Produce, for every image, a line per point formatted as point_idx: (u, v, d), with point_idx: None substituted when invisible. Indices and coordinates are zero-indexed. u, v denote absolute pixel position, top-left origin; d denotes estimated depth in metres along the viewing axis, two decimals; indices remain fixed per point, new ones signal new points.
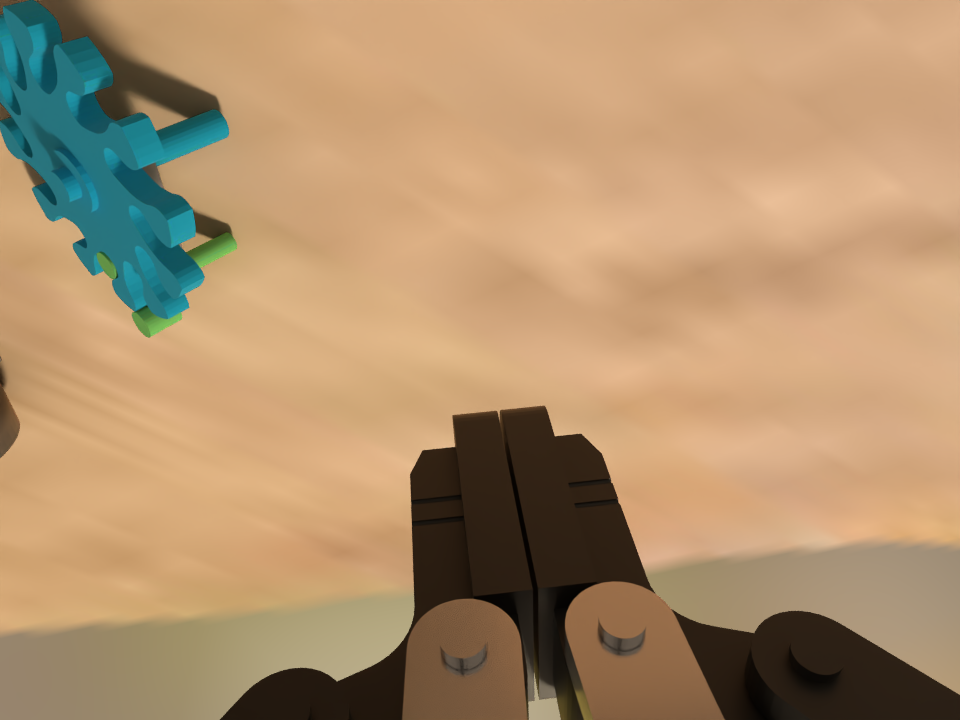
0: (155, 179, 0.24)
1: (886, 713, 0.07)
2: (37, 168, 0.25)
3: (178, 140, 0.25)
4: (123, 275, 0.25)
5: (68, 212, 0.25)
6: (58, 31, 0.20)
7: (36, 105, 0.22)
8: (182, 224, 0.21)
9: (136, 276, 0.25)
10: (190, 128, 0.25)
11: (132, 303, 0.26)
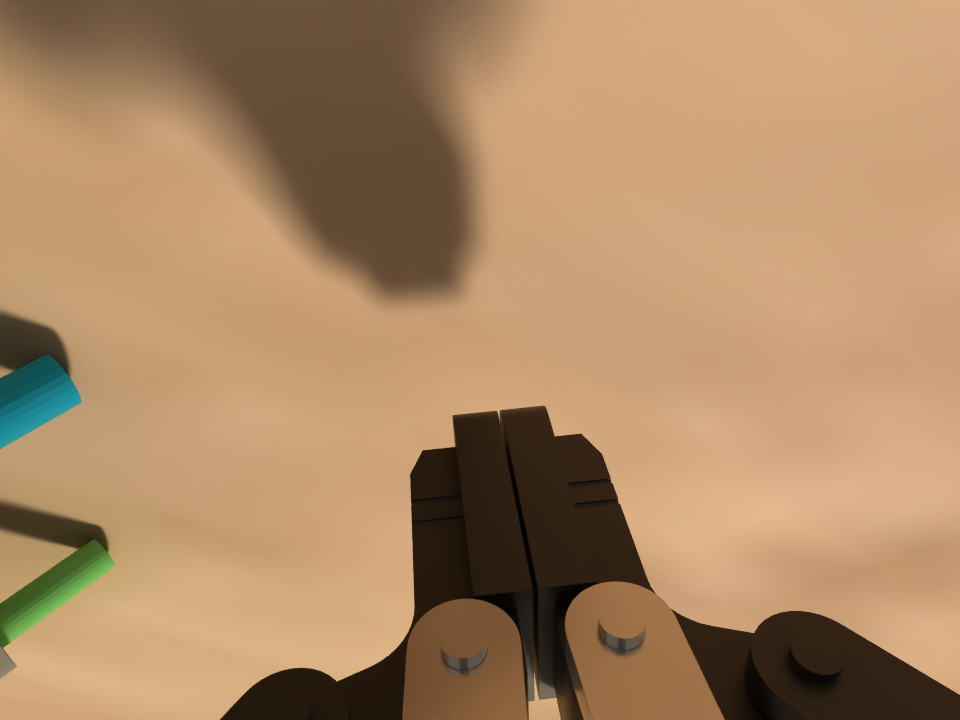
0: None
1: (886, 713, 0.07)
2: None
3: None
4: None
5: None
6: None
7: None
8: None
9: None
10: None
11: None
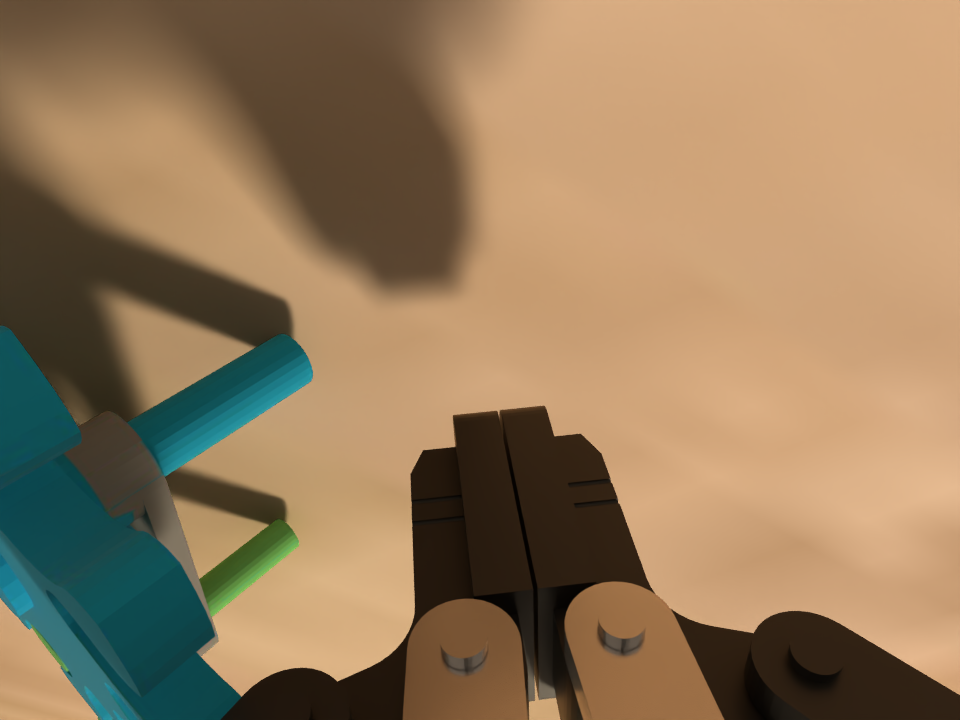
0: (164, 513, 0.11)
1: (886, 713, 0.07)
2: None
3: (216, 421, 0.12)
4: (83, 688, 0.12)
5: None
6: None
7: None
8: None
9: None
10: (242, 388, 0.12)
11: (99, 716, 0.13)
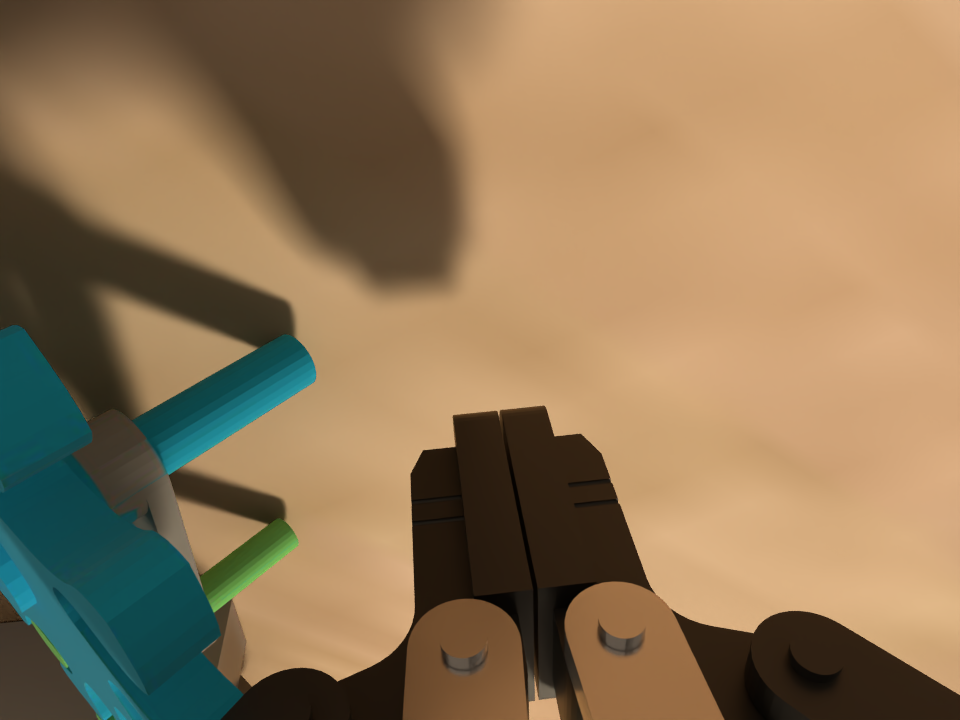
0: (167, 512, 0.11)
1: (886, 713, 0.07)
2: None
3: (220, 420, 0.12)
4: (83, 685, 0.12)
5: None
6: None
7: None
8: None
9: None
10: (246, 389, 0.12)
11: (98, 712, 0.13)
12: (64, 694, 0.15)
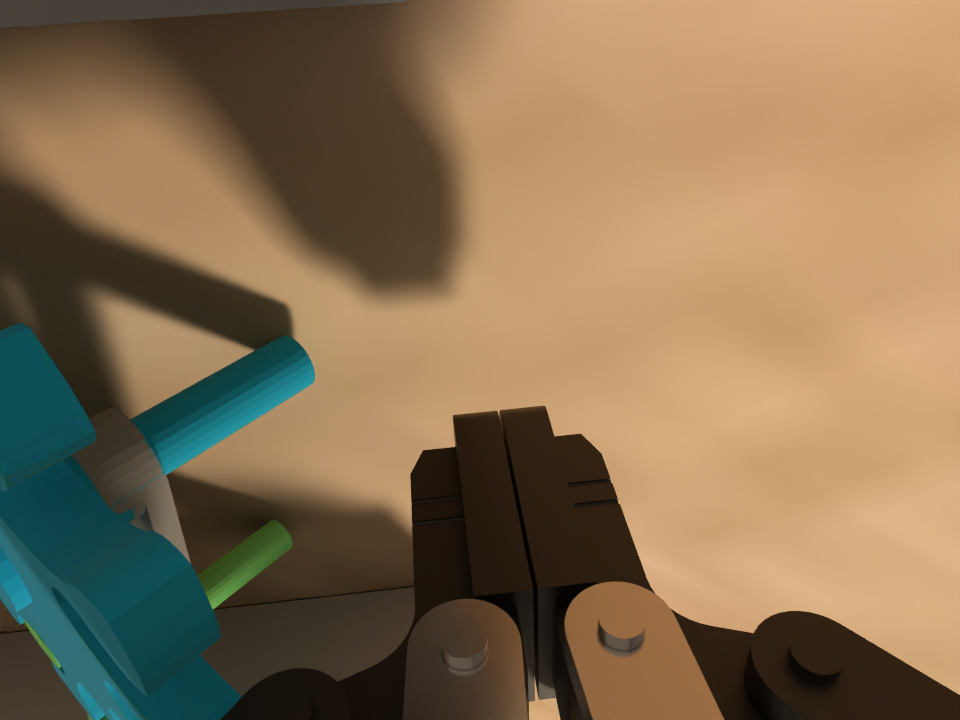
0: (164, 512, 0.11)
1: (886, 713, 0.07)
2: None
3: (219, 420, 0.12)
4: (76, 685, 0.12)
5: None
6: None
7: None
8: None
9: None
10: (245, 389, 0.12)
11: (89, 713, 0.13)
12: None
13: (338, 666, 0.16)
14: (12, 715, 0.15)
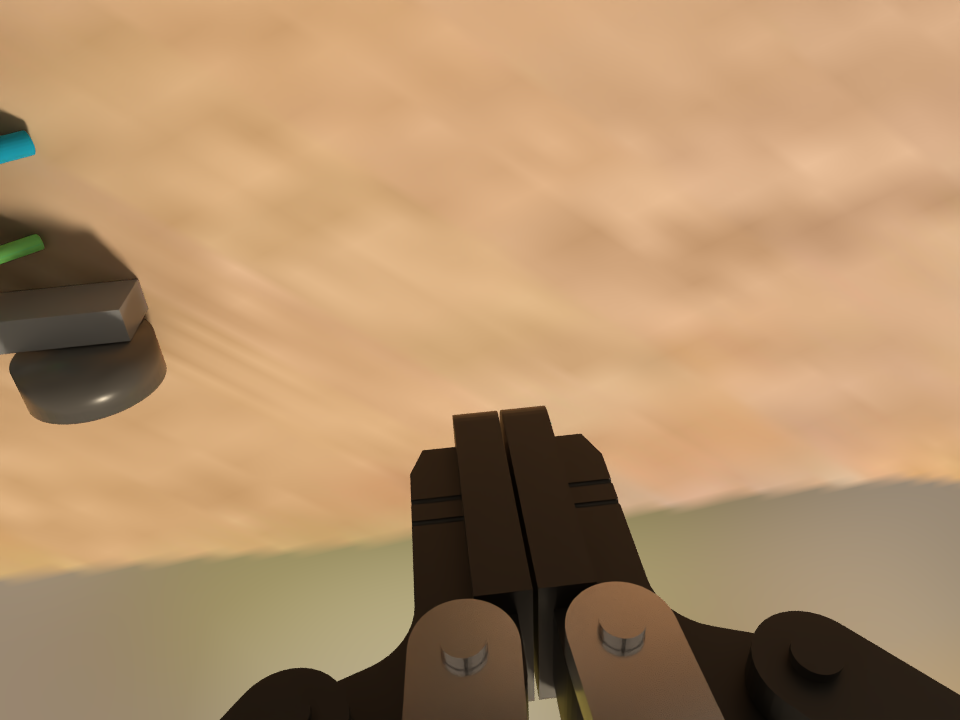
0: None
1: (886, 713, 0.07)
2: None
3: None
4: None
5: None
6: None
7: None
8: None
9: None
10: None
11: None
12: (55, 306, 0.33)
13: (64, 304, 0.33)
14: None
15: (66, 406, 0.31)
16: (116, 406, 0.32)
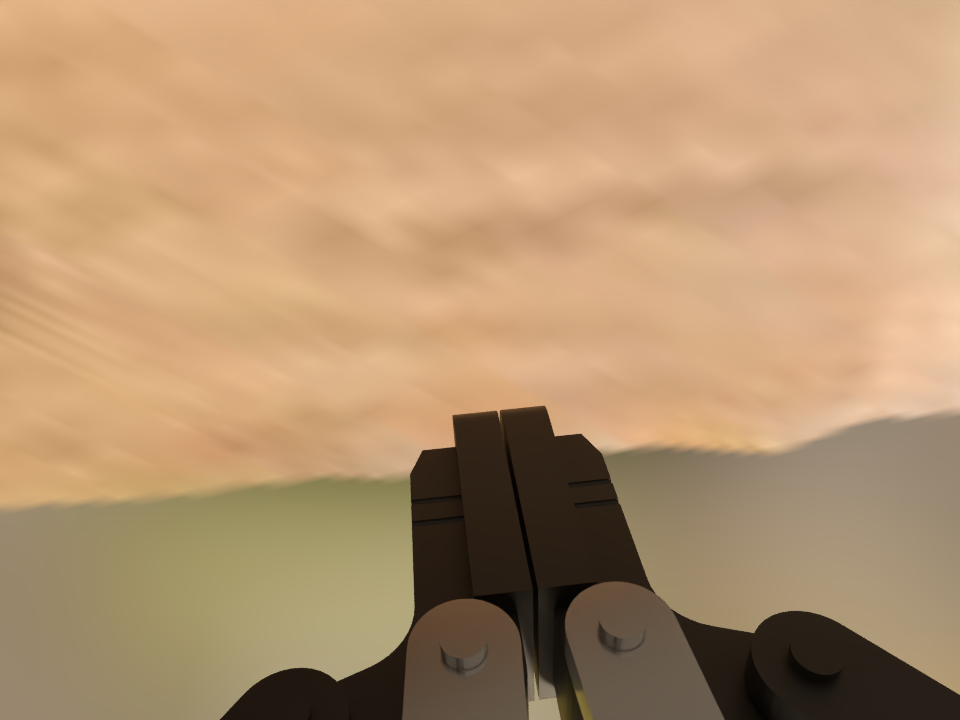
0: None
1: (886, 713, 0.07)
2: None
3: None
4: None
5: None
6: None
7: None
8: None
9: None
10: None
11: None
12: None
13: None
14: None
15: None
16: None
